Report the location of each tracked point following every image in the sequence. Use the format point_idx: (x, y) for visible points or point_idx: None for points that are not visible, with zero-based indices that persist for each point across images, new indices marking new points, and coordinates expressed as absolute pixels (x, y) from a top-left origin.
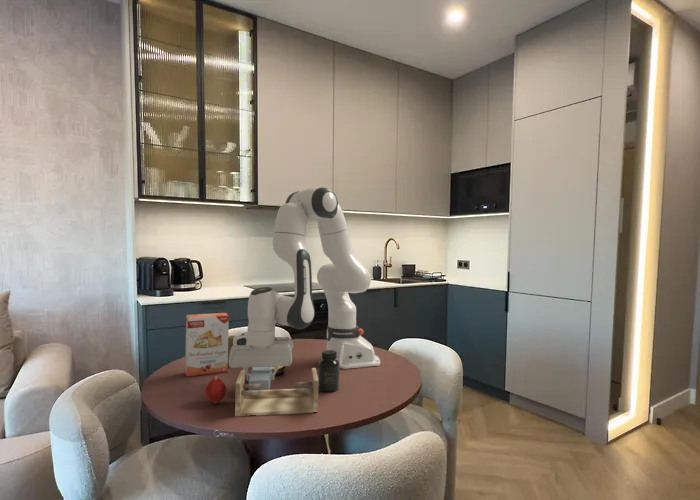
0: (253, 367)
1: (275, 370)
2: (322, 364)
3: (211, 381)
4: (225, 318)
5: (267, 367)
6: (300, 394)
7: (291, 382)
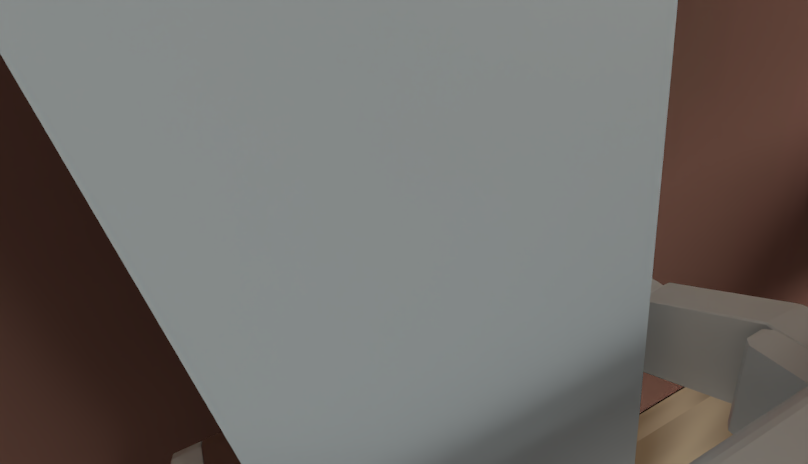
0: (219, 366)
1: (730, 399)
2: None
3: None
4: None
5: (595, 235)
6: None
7: (702, 58)
